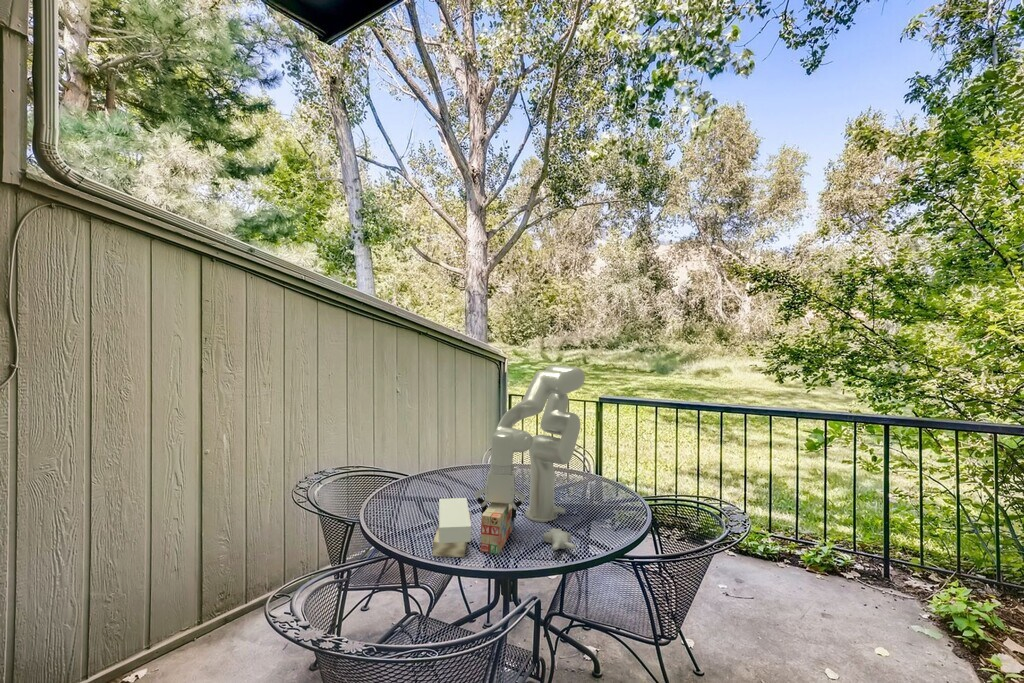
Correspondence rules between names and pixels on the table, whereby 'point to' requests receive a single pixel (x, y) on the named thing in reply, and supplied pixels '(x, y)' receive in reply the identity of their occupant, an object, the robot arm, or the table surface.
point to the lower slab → (448, 547)
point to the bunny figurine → (558, 539)
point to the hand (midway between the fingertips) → (498, 518)
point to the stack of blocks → (496, 527)
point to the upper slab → (454, 520)
